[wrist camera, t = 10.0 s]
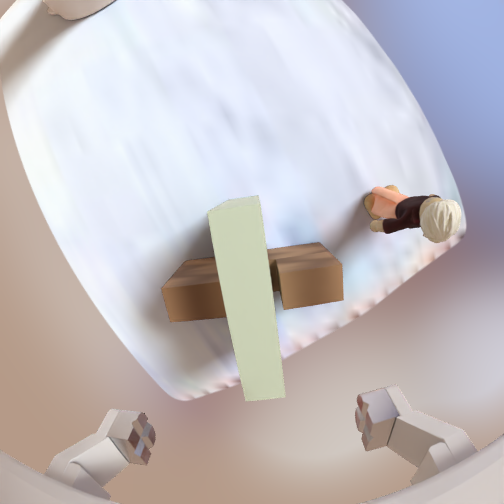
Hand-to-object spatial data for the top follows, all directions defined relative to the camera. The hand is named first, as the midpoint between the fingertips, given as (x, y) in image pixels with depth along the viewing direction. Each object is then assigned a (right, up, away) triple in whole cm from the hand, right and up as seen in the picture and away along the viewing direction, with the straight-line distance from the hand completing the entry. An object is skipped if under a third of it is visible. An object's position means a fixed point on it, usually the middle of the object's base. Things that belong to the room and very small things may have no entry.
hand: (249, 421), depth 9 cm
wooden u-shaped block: (0, +5, +20) cm, 20 cm away
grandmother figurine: (+13, +11, +18) cm, 25 cm away
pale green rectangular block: (0, +5, +20) cm, 20 cm away
